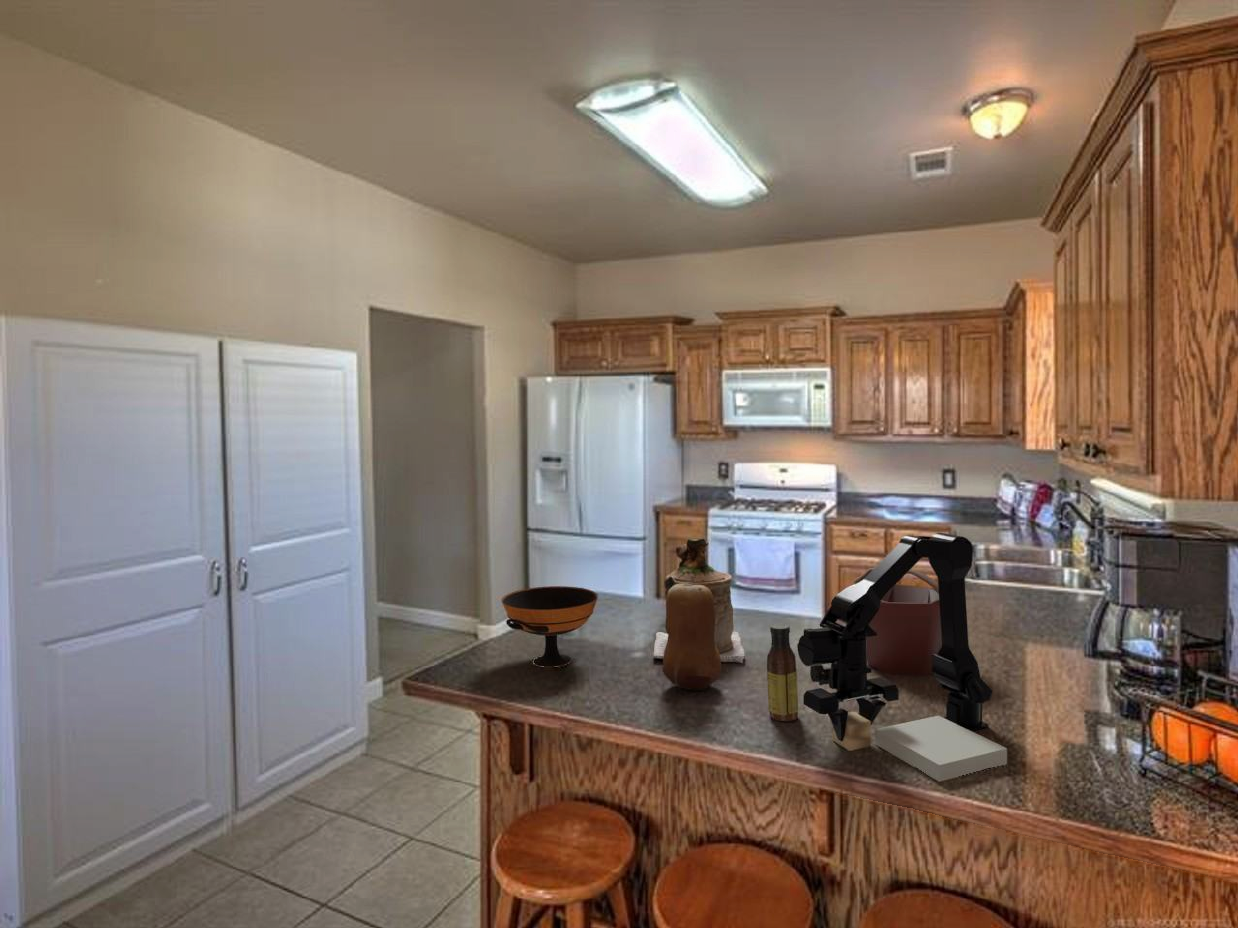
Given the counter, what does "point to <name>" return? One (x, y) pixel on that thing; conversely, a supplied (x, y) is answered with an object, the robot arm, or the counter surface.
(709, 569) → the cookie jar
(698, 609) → the butternut squash
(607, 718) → the counter surface
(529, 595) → the cup
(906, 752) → the plinth
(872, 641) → the bucket
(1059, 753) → the counter surface
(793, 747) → the counter surface
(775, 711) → the sauce bottle
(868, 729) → the pine cube
